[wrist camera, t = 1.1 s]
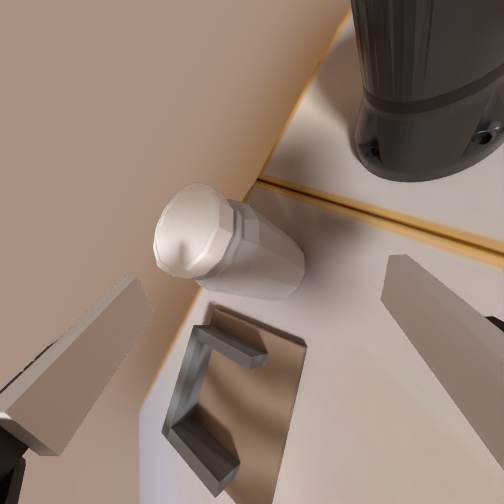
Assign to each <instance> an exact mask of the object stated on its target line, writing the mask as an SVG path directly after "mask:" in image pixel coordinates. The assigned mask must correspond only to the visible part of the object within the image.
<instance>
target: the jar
mask: <svg viewBox="0 0 504 504" xmlns="http://www.w3.org/2000/svg"><path fill="white" fill-rule="evenodd" d="M153 249H154V253H155V257H156V262H157V266H158V267H160V268H161V269H162V270H163V271H165V272H166V273H167V274H169V275H170V276H175V277H181V278H186V279H187V278H192V279H193V280H194V281H196V282H197V283H198V284H200V285H201V286H203V287H204V288H206V289H207V290H209V291H215V292H221V293H227V294H233V295H239V296H245V297H251V298H258V299H264V300H277V299H285V298H286V297H287V296H289V295H290V294H291V293H292V292H294V291H295V290H296V289H298V288H299V285H300V283H301V281H302V278H303V276H304V274H305V272H306V269H305V259H304V253H303V251H302V250H301V249H300V248H299V246H298V245H297V244H296V242H295V241H294V240H293V239H291V238H290V237H289V236H288V235H286V234H285V233H284V232H283V231H281V230H280V229H279V228H278V227H276V226H275V225H274V224H273V223H271V222H270V221H269V220H268V219H266V218H265V217H264V216H262V215H261V214H260V213H259V212H257V211H256V210H255V209H254V208H252V207H251V206H250V205H249V204H247V203H243V202H239V201H234V200H229V199H226V198H225V196H224V195H223V194H222V193H220V192H219V191H218V190H216V189H215V188H214V187H212V186H211V185H207V184H202V183H193V184H192V185H190V186H188V187H186V188H184V189H182V190H180V191H179V192H178V193H177V194H176V195H175V196H174V197H173V198H172V200H171V201H170V202H169V203H168V204H167V206H166V207H165V208H164V211H163V213H162V215H161V217H160V219H159V221H158V224H157V226H156V231H155V238H154V245H153Z"/></svg>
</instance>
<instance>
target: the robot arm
mask: <svg viewBox="0 0 504 504" xmlns="http://www.w3.org/2000/svg"><path fill="white" fill-rule="evenodd" d="M351 6H352V13H353V20H354V27H355V34H356V41H357V48H358V55H359V61H360V68H361V75H362V81H363V89H364V95H363V99H362V103H361V107H360V111H359V116H358V120H357V124H356V129H355V143H356V148H357V153H358V156H359V159H360V161H361V162H362V164H363V165H364V166H365V167H366V168H367V169H368V170H369V171H370V172H372V173H373V174H375V175H377V176H379V177H382V178H384V179H388V180H392V181H398V182H422V181H429V180H435V179H439V178H443V177H446V176H449V175H452V174H455V173H458V172H460V171H463V170H465V169H467V168H469V167H471V166H473V165H475V164H476V163H478V162H480V161H481V160H483V159H484V158H486V157H487V156H489V155H490V154H491V153H493V152H494V151H495V150H496V149H497V148H498V147H499V146H500V145H501V144H502V143H503V142H504V0H351ZM381 301H382V303H383V304H384V305H385V307H386V308H387V310H388V311H389V312H390V314H391V315H392V316H393V318H394V319H395V321H396V322H397V323H398V325H399V326H400V328H401V329H402V330H403V332H404V333H405V334H406V336H407V337H408V339H409V340H410V341H411V343H412V344H413V346H414V347H415V348H416V350H417V351H418V352H419V354H420V355H421V357H422V358H423V359H424V361H425V362H426V364H427V365H428V366H429V368H430V369H431V370H432V372H433V373H434V375H435V376H436V377H437V379H438V380H439V382H440V383H441V384H442V386H443V387H444V388H445V390H446V391H447V393H448V394H449V395H450V397H451V398H452V400H453V401H454V402H455V404H456V405H457V406H458V408H459V409H460V411H461V412H462V413H463V415H464V416H465V418H466V419H467V420H468V422H469V423H470V424H471V426H472V427H473V429H474V430H475V431H476V433H477V434H478V436H479V437H480V438H481V440H482V441H483V442H484V444H485V445H486V447H487V448H488V449H489V451H490V452H491V453H492V455H493V456H494V458H495V459H496V460H497V462H498V463H499V465H500V466H501V467H502V469H503V470H504V322H503V321H501V320H499V319H497V318H495V317H493V316H489V317H484V316H483V315H481V314H480V313H479V312H478V311H476V310H475V309H474V308H473V307H471V306H470V305H469V304H468V303H466V302H465V301H464V300H463V299H461V298H460V297H459V296H458V295H456V294H455V293H454V292H453V291H451V290H450V289H449V288H448V287H446V286H445V285H444V284H443V283H441V282H440V281H439V280H438V279H437V278H435V277H434V276H433V275H432V274H430V273H429V272H428V271H427V270H425V269H424V268H423V267H422V266H420V265H419V264H418V263H417V262H415V261H414V260H413V259H412V258H410V257H409V256H408V255H407V254H403V255H391V256H389V259H388V264H387V270H386V275H385V280H384V285H383V290H382V295H381ZM153 314H154V311H153V309H152V306H151V304H150V302H149V300H148V298H147V296H146V293H145V291H144V289H143V287H142V285H141V283H140V280H139V278H138V276H126V277H124V278H123V279H122V280H121V281H119V282H118V283H117V284H116V285H115V286H114V287H113V288H112V289H111V290H110V291H109V292H108V293H107V294H106V295H105V296H104V297H103V298H102V299H100V300H99V301H98V302H97V303H96V304H95V305H94V306H93V307H92V308H91V309H90V310H89V311H88V312H87V313H86V314H85V315H83V316H82V317H81V318H80V319H79V320H78V321H77V322H76V323H75V324H74V325H73V326H72V327H71V328H70V329H69V330H68V331H67V332H66V333H65V334H64V335H62V336H61V337H60V338H59V339H58V340H57V341H55V342H54V343H52V344H51V345H50V346H48V347H47V348H46V349H45V350H44V351H43V352H41V353H40V354H39V355H38V356H37V357H36V358H35V360H34V361H32V362H31V363H30V364H29V365H28V366H26V367H25V368H24V371H23V372H20V373H19V374H18V375H17V376H16V377H15V378H14V379H13V380H12V381H10V382H9V383H8V384H7V385H6V386H5V387H4V388H3V389H2V390H1V391H0V504H18V500H19V495H20V490H21V486H22V481H23V475H24V471H25V466H26V463H25V459H24V458H23V457H22V455H23V454H24V453H25V452H26V450H27V449H28V448H30V449H31V450H33V451H34V452H36V453H37V454H38V455H40V456H60V455H61V454H62V452H63V451H64V449H65V448H66V446H67V445H68V443H69V441H70V440H71V438H72V437H73V435H74V434H75V432H76V431H77V429H78V428H79V426H80V425H81V423H82V422H83V420H84V419H85V417H86V416H87V414H88V413H89V411H90V410H91V408H92V407H93V405H94V403H95V402H96V401H97V399H98V397H99V396H100V394H101V393H102V391H103V390H104V388H105V387H106V385H107V384H108V382H109V381H110V379H111V378H112V376H113V374H114V373H115V372H116V370H117V369H118V367H119V366H120V364H121V362H122V361H123V360H124V358H125V357H126V355H127V353H128V352H129V350H130V349H131V347H132V346H133V344H134V343H135V341H136V340H137V338H138V337H139V335H140V334H141V332H142V331H143V329H144V328H145V326H146V324H147V323H148V321H149V320H150V318H151V317H152V316H153Z"/></svg>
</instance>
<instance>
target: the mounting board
mask: <svg viewBox="0 0 504 504" xmlns="http://www.w3.org/2000/svg"><path fill="white" fill-rule="evenodd" d="M306 351H307V347H306V346H304V345H301V344H299V343H297V342H294V341H292V340H290V339H287V338H285V337H283V336H280V335H278V334H276V333H273V332H271V331H269V330H266V329H264V328H262V327H259V326H257V325H255V324H252V323H250V322H248V321H245V320H243V319H241V318H238V317H236V316H234V315H231V314H229V313H227V312H224V311H222V310H220V309H214V313H213V316H212V319H211V323H210V325H194V326H193V329H192V332H191V336H190V339H189V342H188V346H187V349H186V352H185V355H184V359H183V362H182V365H181V369H180V372H179V375H178V379H177V382H176V385H175V389H174V392H173V395H172V398H171V402H170V405H169V408H168V412H167V415H166V418H165V422H164V425H163V428H162V432H161V433H162V434H163V435H164V436H165V437H166V439H167V440H168V441H169V442H170V444H171V445H172V446H173V447H174V448H175V450H176V451H177V452H178V453H179V454H180V456H181V457H182V458H183V459H184V460H185V462H186V463H187V464H188V465H189V467H190V468H191V469H192V470H193V471H194V473H195V474H196V475H197V476H198V477H199V479H200V480H201V481H202V482H203V484H204V485H205V486H206V487H207V488H208V490H209V491H210V492H211V493H212V494H213V496H214V497H215V498H216V497H217V496H218V495H219V494H220V493H221V492H222V491H223V490H225V491H226V492H227V494H228V495H229V496H230V497H231V498H232V499H233V500H234V502H235V503H236V504H272V501H273V497H274V493H275V488H276V484H277V479H278V475H279V470H280V466H281V462H282V457H283V453H284V448H285V444H286V440H287V435H288V431H289V426H290V422H291V417H292V413H293V409H294V404H295V400H296V395H297V391H298V387H299V382H300V378H301V373H302V369H303V365H304V360H305V356H306Z"/></svg>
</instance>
